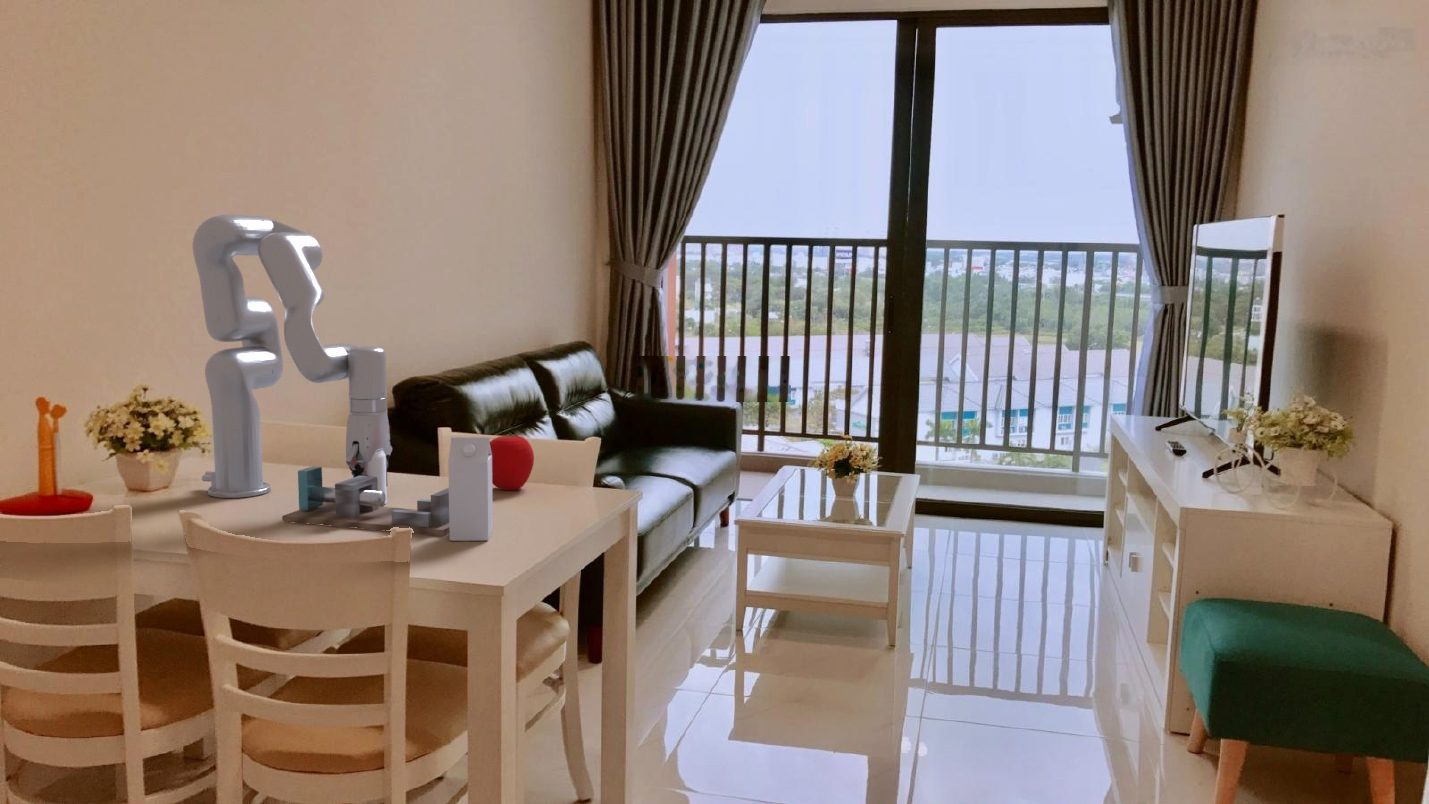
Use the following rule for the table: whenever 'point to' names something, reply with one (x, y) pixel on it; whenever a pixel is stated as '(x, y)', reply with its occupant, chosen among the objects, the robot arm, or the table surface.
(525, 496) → the table surface
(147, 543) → the table surface
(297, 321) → the robot arm
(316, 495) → the shaft
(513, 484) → the tomato
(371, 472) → the can
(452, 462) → the milk carton
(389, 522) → the base plate with brackets
